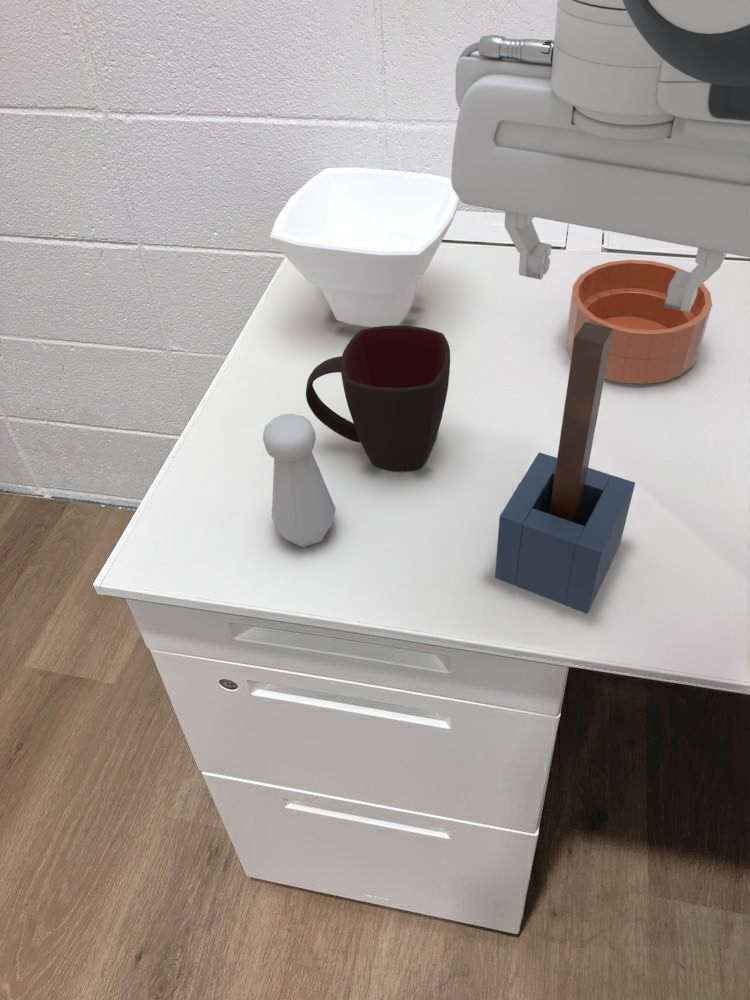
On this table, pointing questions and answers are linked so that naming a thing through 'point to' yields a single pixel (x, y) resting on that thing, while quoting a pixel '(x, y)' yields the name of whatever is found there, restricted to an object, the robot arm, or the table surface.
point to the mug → (389, 393)
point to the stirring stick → (580, 418)
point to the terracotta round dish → (639, 319)
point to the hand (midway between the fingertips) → (603, 289)
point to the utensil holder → (561, 536)
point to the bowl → (366, 238)
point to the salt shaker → (297, 481)
